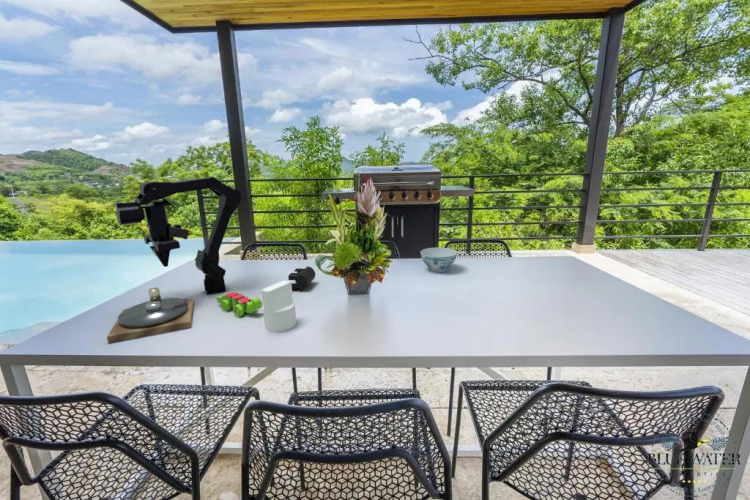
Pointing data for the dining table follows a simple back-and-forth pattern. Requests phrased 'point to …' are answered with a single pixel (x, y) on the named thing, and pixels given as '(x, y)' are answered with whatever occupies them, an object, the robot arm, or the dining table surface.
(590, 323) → the dining table surface
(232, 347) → the dining table surface
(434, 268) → the chinaware
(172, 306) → the handwheel
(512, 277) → the dining table surface
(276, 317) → the base with upright slab
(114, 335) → the wheel base
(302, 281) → the end cap
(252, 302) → the toy crocodile
